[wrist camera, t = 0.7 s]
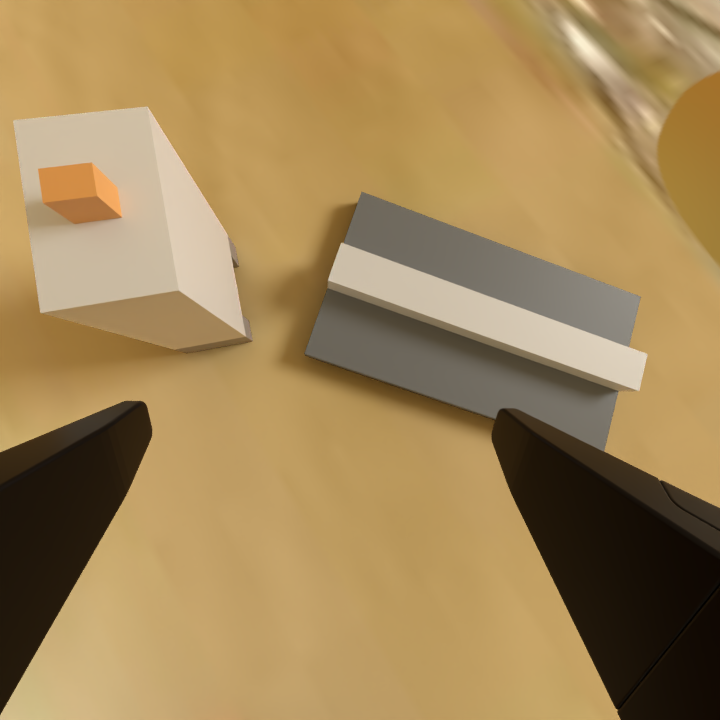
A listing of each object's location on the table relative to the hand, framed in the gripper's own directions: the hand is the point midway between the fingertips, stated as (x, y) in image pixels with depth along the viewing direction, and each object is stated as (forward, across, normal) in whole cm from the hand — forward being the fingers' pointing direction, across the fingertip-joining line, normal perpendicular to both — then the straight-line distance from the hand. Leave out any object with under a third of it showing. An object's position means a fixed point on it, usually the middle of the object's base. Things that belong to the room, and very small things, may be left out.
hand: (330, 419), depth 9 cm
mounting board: (+14, -10, +2) cm, 17 cm away
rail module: (+14, +7, +1) cm, 16 cm away
